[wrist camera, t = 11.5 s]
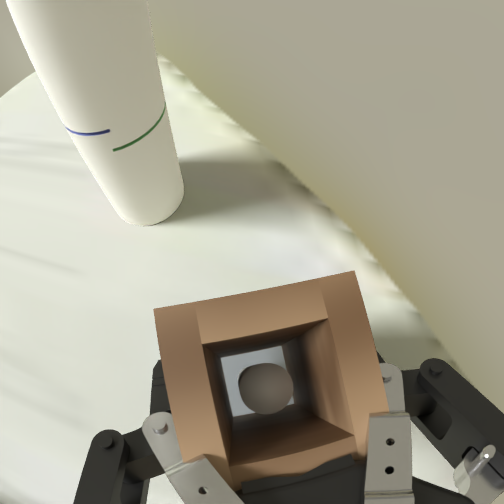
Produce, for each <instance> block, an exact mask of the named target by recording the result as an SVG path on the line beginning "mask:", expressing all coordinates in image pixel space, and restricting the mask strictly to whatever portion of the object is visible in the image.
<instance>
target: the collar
mask: <svg viewBox="0 0 504 504" xmlns="http://www.w3.org/2000/svg"><path fill="white" fill-rule="evenodd" d="M154 316H155V324H156V331H157V337H158V344H159V350H160V356H161V362H162V368H163V373H164V379H165V384H166V389H167V394H168V399H169V404H170V409H171V413H172V418H173V422H174V427H175V431H176V435H177V439H178V444H179V448H180V452H181V455H182V459H183V463H184V462H186V461H188V460H190V459H192V458H194V457H196V456H198V455H201V454H203V455H204V456H205V457H206V458H207V459H208V461H209V462H210V463H211V465H212V466H213V467H214V468H215V470H216V471H217V472H218V473H219V475H220V476H221V477H222V478H223V479H224V481H225V482H226V483H227V484H228V485H229V487H230V488H231V489H232V490H233V491H234V492H235V491H237V490H240V489H242V487H241V482H245V481H251V480H256V479H261V478H266V477H295V476H301V475H303V474H305V473H307V472H309V471H310V470H312V469H314V468H316V467H318V466H320V465H321V464H323V463H325V462H328V461H331V460H334V459H338V458H341V457H344V456H347V455H349V454H351V455H352V457H353V460H365V451H366V444H365V439H366V432H367V425H368V418H369V413H389V407H388V402H387V397H386V392H385V388H384V383H383V378H382V374H381V369H380V365H379V361H378V356H377V352H376V348H375V344H374V340H373V336H372V332H371V328H370V324H369V321H368V317H367V313H366V309H365V306H364V302H363V299H362V295H361V292H360V288H359V285H358V281H357V278H356V275H355V271H350V272H345V273H340V274H336V275H331V276H326V277H322V278H317V279H312V280H307V281H303V282H298V283H293V284H288V285H283V286H278V287H273V288H268V289H263V290H257V291H252V292H247V293H242V294H236V295H231V296H225V297H220V298H214V299H209V300H203V301H197V302H192V303H186V304H180V305H174V306H168V307H162V308H156V309H154ZM278 346H281V347H282V351H283V356H284V360H285V365H286V369H287V372H288V374H289V375H290V377H291V379H292V382H293V394H292V396H293V400H294V404H290V405H286V406H285V407H284V408H283V409H282V410H280V411H278V412H276V413H273V414H259V413H256V412H255V413H250V414H245V415H239V416H234V417H233V414H232V409H231V405H230V400H229V395H228V391H227V386H226V381H225V377H224V372H223V367H222V362H221V358H223V357H228V356H234V355H239V354H244V353H249V352H254V351H259V350H264V349H269V348H273V347H278ZM206 494H207V493H206Z"/></svg>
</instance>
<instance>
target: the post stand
mask: <svg viewBox="0 0 504 504" xmlns="http://www.w3.org/2000/svg"><path fill="white" fill-rule="evenodd" d="M221 362H222V367H223V372H224V377H225V381H226V386H227V391H228V395H229V400H230V405H231V409H232V414H233V417H234V416H239V415H245V414H250V413H255V412H256V413H259V414H273V413H276V412H278V411H280V410H282V409H283V408H284V407H285V406H286V405H290V404H294V400H293V396H292V394H293V382H292V379H291V377H290V375H289V374H288V372H287V369H286V365H285V360H284V356H283V351H282V347H281V346H278V347H273V348H269V349H264V350H259V351H254V352H249V353H244V354H239V355H234V356H228V357H223V358H221Z"/></svg>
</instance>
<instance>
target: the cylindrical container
mask: <svg viewBox="0 0 504 504" xmlns="http://www.w3.org/2000/svg"><path fill="white" fill-rule="evenodd" d="M6 3H7V5H8V8H9V10H10V13H11V16H12V18H13V21H14V23H15V26H16V28H17V30H18V33H19V35H20V37H21V40H22V41H23V44H24V46H25V48H26V51H27V53H28V55H29V57H30V60H31V62H32V64H33V66H34V68H35V70H36V72H37V74H38V76H39V78H40V80H41V82H42V84H43V86H44V88H45V90H46V92H47V94H48V96H49V98H50V100H51V102H52V104H53V106H54V107H55V109H56V111H57V113H58V115H59V117H60V118H61V120H62V122H63V124H64V126H65V128H66V129H67V131H68V133H69V135H70V137H71V138H72V140H73V142H74V144H75V145H76V147H77V149H78V150H79V152H80V154H81V156H82V157H83V159H84V161H85V162H86V164H87V166H88V167H89V169H90V171H91V172H92V174H93V176H94V177H95V179H96V180H97V182H98V184H99V185H100V187H101V188H102V190H103V192H104V193H105V195H106V196H107V198H108V199H109V201H110V202H111V204H112V206H113V207H114V209H115V210H116V212H117V213H118V214H119V216H120V217H121V218H122V219H123V220H124V221H126V222H128V223H130V224H132V225H136V226H149V225H154V224H157V223H159V222H161V221H163V220H165V219H167V218H168V217H169V216H171V215H172V214H173V213H174V212H175V211H176V210H177V208H178V207H179V205H180V203H181V201H182V199H183V195H184V183H183V179H182V175H181V170H180V166H179V162H178V157H177V153H176V149H175V144H174V140H173V135H172V131H171V126H170V121H169V117H168V112H167V107H166V102H165V97H164V92H163V87H162V82H161V76H160V71H159V66H158V61H157V55H156V50H155V44H154V39H153V33H152V27H151V21H150V15H149V8H148V2H147V0H6Z"/></svg>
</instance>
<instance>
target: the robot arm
mask: <svg viewBox="0 0 504 504" xmlns="http://www.w3.org/2000/svg"><path fill="white" fill-rule="evenodd" d="M376 352H377V351H376ZM377 356H378V361H379V365H380V369H381V374H382V378H383V383H384V388H385V392H386V397H387V402H388V407H389V413H369V418H368V425H367V432H366V439H365V444H366V451H365V460H353V457H352V455H351V454H349V455H347V456H344V457H341V458H338V459H334V460H331V461H328V462H325V463H323V464H321V465H320V466H318V467H316V468H314V469H312V470H310V471H309V472H307V473H305V474H303V475H301V476H295V477H266V478H261V479H256V480H251V481H245V482H241V487H242V489H240V490H237V491H235V492H234V491H233V490H232V489H231V488H230V487H229V485H228V484H227V483H226V482H225V481H224V479H223V478H222V477H221V476H220V475H219V473H218V472H217V471H216V470H215V468H214V467H213V466H212V465H211V463H210V462H209V461H208V459H207V458H206V457H205V456H204V455H203V454H201V455H198V456H196V457H194V458H192V459H190V460H188V461H186V462H184V463H183V459H182V455H181V452H180V448H179V444H178V439H177V435H176V431H175V427H174V422H173V418H172V413H171V409H170V404H169V399H168V394H167V389H166V384H165V379H164V373H163V368H162V362H161V360H158V362H157V364H156V365H155V367H154V369H153V377H152V379H153V380H152V390H151V404H150V416H149V417H147V418H146V419H145V421H144V422H143V425H142V427H141V428H139V429H137V430H135V431H132V432H130V433H127V434H124V435H121V434H120V433H119V432H118V431H115V430H104V431H101V432H99V433H98V434H97V435H96V436H95V437H94V438H93V440H92V442H91V446H90V449H89V452H88V455H87V458H86V461H85V465H84V468H83V471H82V475H81V478H80V481H79V485H78V488H77V492H76V496H75V499H74V503H73V504H146V501H147V494H148V488H149V482H150V478H153V477H156V476H158V475H161V474H164V473H165V474H166V476H167V477H168V479H169V481H170V482H171V484H172V485H173V487H174V488H175V490H176V491H177V493H178V494H179V496H180V497H181V499H182V500H183V502H184V503H185V504H490V503H492V501H494V500H495V499H496V498H497V497H498V496H499V495H500V494H501V493H502V492H504V414H503V413H502V412H501V411H500V410H499V409H498V408H497V407H496V406H495V405H493V404H492V403H491V402H490V401H489V400H488V399H487V398H486V397H484V395H482V394H481V393H480V392H479V391H478V390H477V389H476V388H475V387H473V386H472V385H471V384H470V383H469V382H468V381H467V380H466V379H464V378H463V377H462V376H461V375H460V374H459V373H458V372H457V371H455V370H454V369H453V368H452V367H451V366H450V365H449V364H447V363H446V362H445V361H443V360H441V359H436V358H432V359H428V360H426V361H424V362H423V363H422V364H421V367H420V369H416V370H405V371H402V370H400V369H399V368H398V367H396V366H395V365H393V364H389V363H385V362H384V360H383V359H382V357H381V356H380V355H379V353H378V352H377ZM410 420H411V421H412V422H413V423H414V424H415V425H416V426H417V427H418V429H419V430H420V431H421V432H422V433H423V434H424V435H425V436H426V438H427V439H428V440H429V441H430V442H431V443H432V444H433V445H434V447H435V448H436V449H437V450H438V451H439V452H440V453H441V454H442V455H443V457H444V458H445V459H446V460H447V461H448V462H449V463H450V464H451V466H452V467H453V468H454V469H455V470H454V474H453V478H454V481H455V486H456V487H457V488H458V490H459V493H457V492H454V491H451V490H448V489H445V488H442V487H439V486H437V485H434V484H431V483H429V482H426V481H423V480H421V479H418V478H416V477H413V476H412V444H411V424H410ZM206 493H207V494H206Z"/></svg>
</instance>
